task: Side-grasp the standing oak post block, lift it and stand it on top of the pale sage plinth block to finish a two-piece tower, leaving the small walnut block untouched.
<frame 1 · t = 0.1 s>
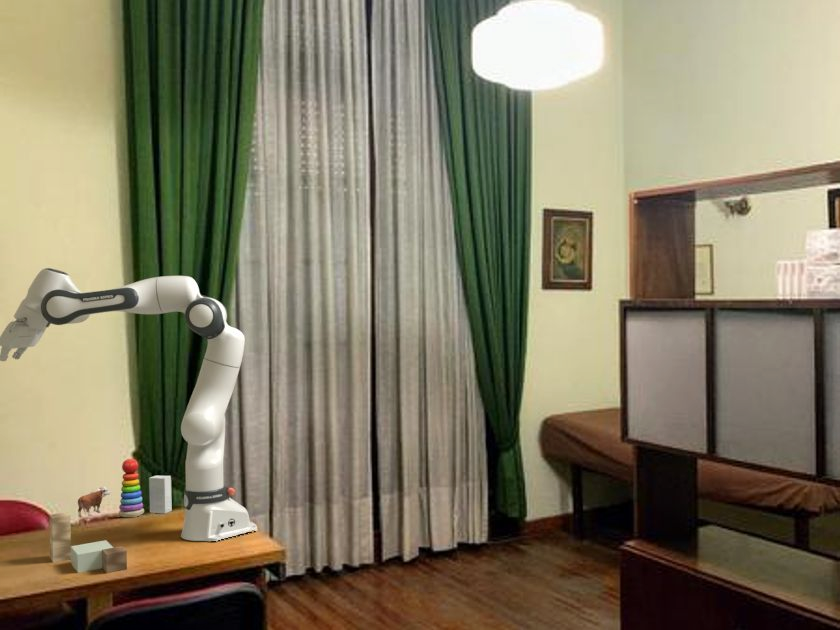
hand: (8, 359, 227), 54 cm above the table, tool tilted 30°, fingers open, 8 cm apart
oak post: (60, 558, 212), on the table
walnut block: (114, 569, 203), on the table
bull figurine: (93, 514, 260), on the table
skincare box: (160, 512, 261), on the table
plinth: (92, 565, 206), on the table
stacking toy: (131, 515, 258), on the table
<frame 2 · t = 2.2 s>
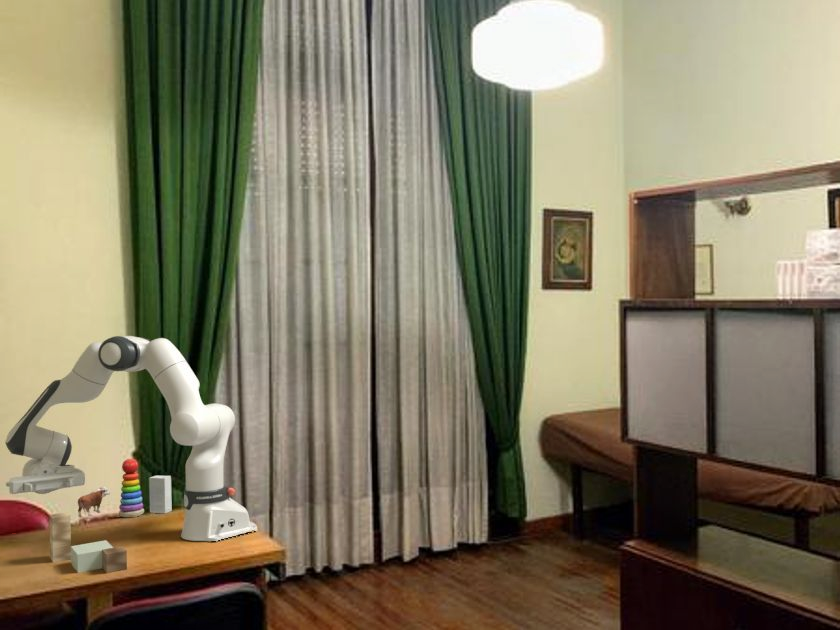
hand: (51, 486, 222), 18 cm above the table, tool horizontal, fingers open, 8 cm apart
nothing on the table moved.
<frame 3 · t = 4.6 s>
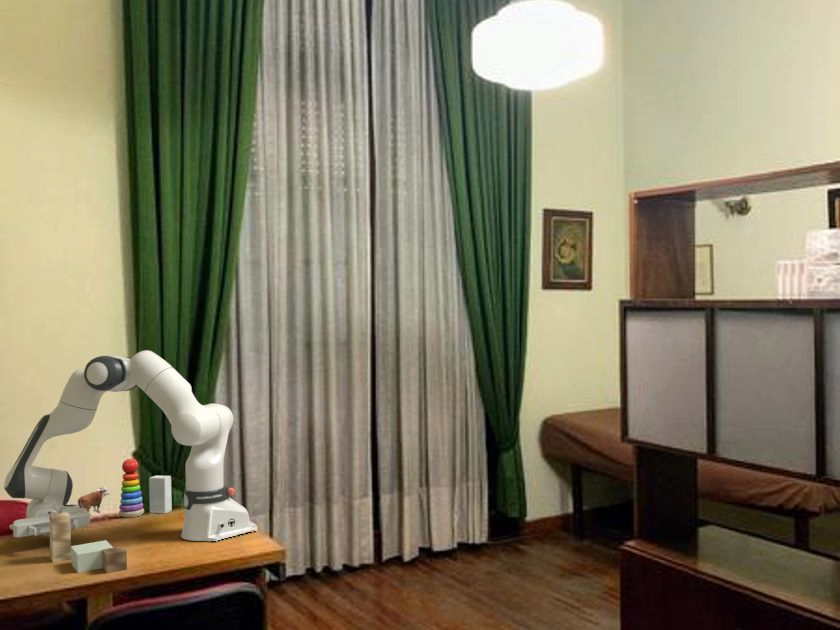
hand: (56, 529, 218), 6 cm above the table, tool horizontal, fingers open, 8 cm apart
nothing on the table moved.
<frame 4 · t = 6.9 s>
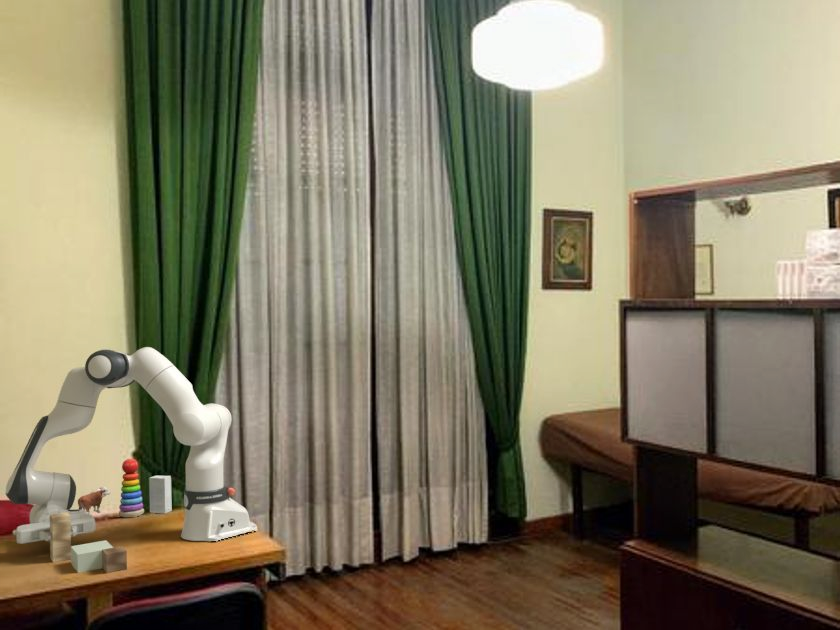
hand: (60, 535, 211), 7 cm above the table, tool horizontal, fingers closed on oak post, 4 cm apart
oak post: (60, 558, 212), on the table, touching gripper
everything else where it was.
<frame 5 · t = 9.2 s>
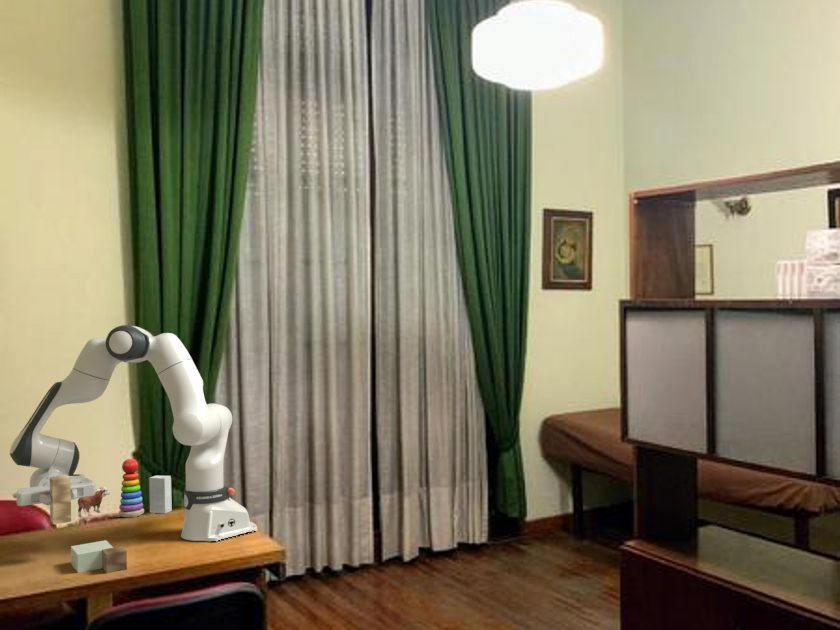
hand: (61, 498, 211), 17 cm above the table, tool horizontal, fingers closed on oak post, 4 cm apart
oak post: (60, 521, 212), point 10 cm above the table, touching gripper
everything else where it was.
when the fingers open (12 cm above the table, at t = 11.6 s): oak post drops 1 cm, resting on plinth.
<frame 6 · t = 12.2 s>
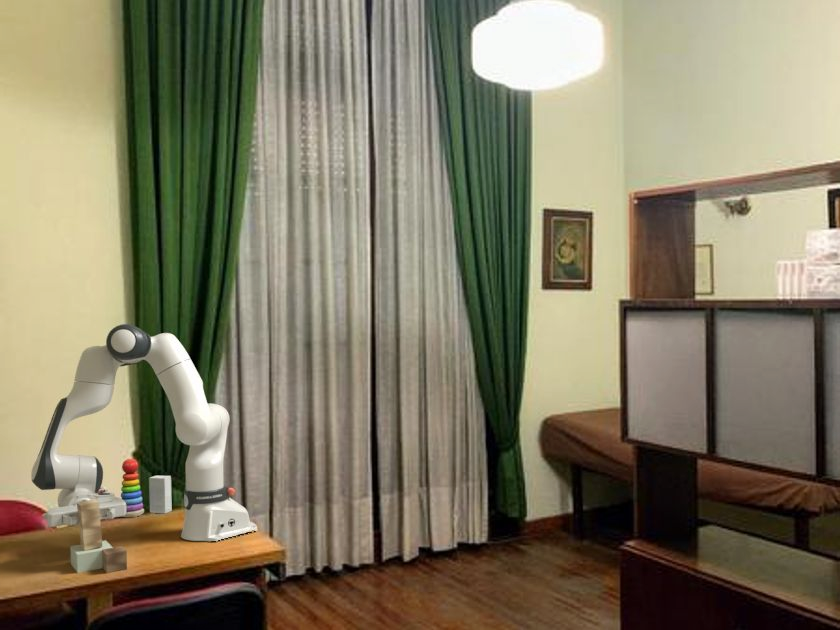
hand: (92, 518, 206), 12 cm above the table, tool horizontal, fingers open, 8 cm apart
oak post: (91, 546, 206), point 5 cm above the table, touching plinth
plinth: (92, 565, 206), on the table, touching oak post
everything else where it was.
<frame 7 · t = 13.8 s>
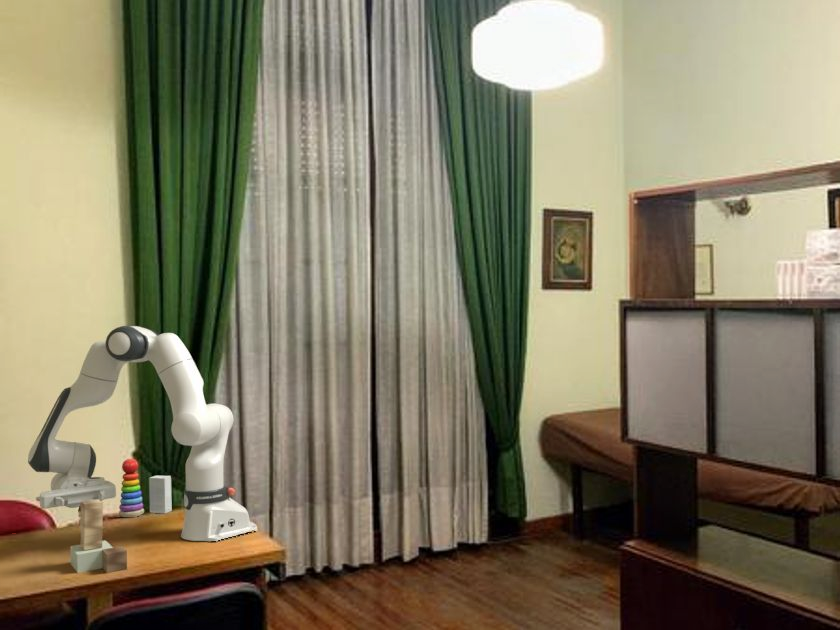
hand: (83, 500, 216), 15 cm above the table, tool horizontal, fingers open, 8 cm apart
oak post: (91, 546, 206), point 5 cm above the table
plinth: (92, 565, 206), on the table
everything else where it was.
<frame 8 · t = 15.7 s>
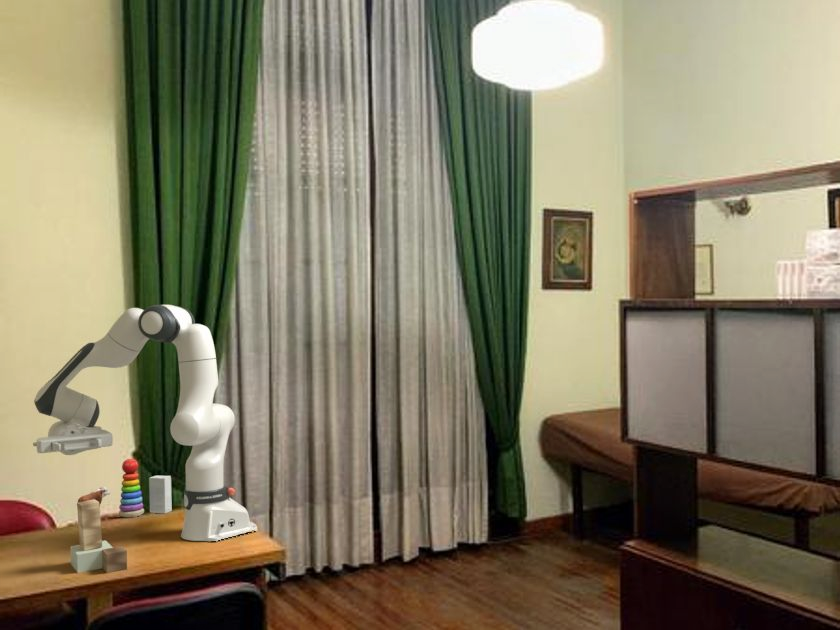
hand: (80, 445, 218), 30 cm above the table, tool horizontal, fingers open, 8 cm apart
at the end: oak post inside the target area on the plinth (0.2 cm from its centre), point 5.1 cm above the plinth's base; oak post tilted 2°; the gripper is holding nothing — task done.
